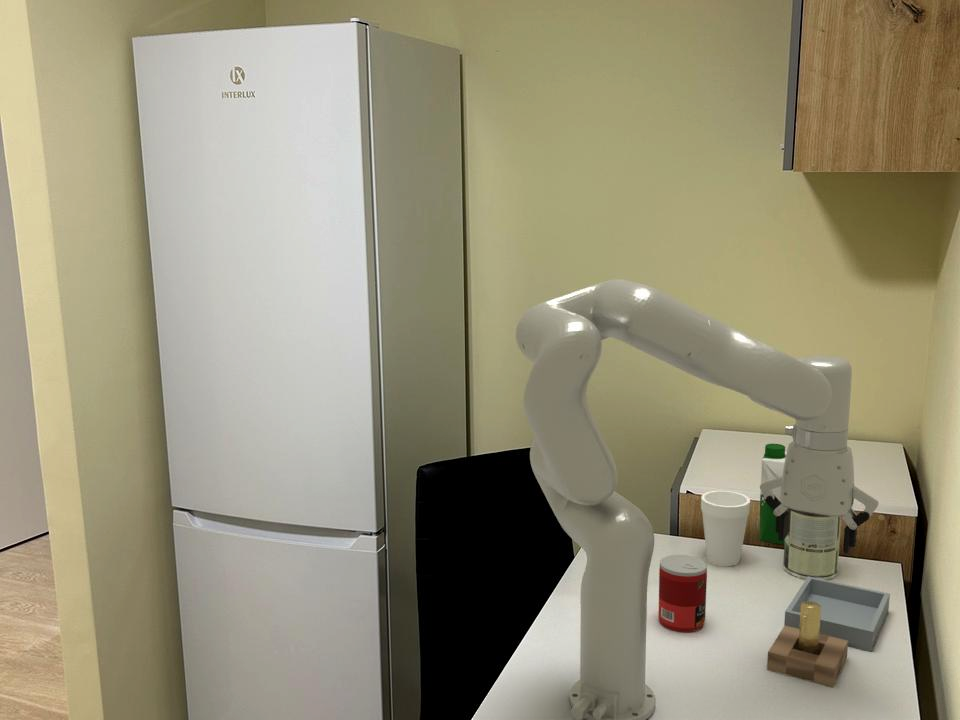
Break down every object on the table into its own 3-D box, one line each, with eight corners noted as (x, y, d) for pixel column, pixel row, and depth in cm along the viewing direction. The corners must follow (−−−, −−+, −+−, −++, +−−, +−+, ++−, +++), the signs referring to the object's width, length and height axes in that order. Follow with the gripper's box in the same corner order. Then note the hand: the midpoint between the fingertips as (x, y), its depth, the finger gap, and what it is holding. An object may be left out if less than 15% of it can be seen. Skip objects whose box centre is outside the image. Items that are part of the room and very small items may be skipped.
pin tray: (871, 651, 152) (873, 631, 151) (784, 630, 159) (785, 611, 158) (888, 611, 165) (889, 593, 164) (806, 593, 172) (807, 576, 172)
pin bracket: (833, 687, 142) (834, 669, 141) (767, 669, 147) (767, 651, 146) (847, 657, 150) (848, 640, 149) (783, 641, 155) (784, 625, 155)
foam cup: (691, 552, 191) (693, 492, 189) (734, 548, 193) (736, 488, 190) (711, 571, 182) (713, 508, 180) (755, 567, 184) (758, 505, 181)
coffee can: (772, 562, 186) (775, 495, 183) (817, 556, 189) (821, 489, 186) (802, 584, 176) (806, 513, 173) (849, 577, 179) (854, 507, 176)
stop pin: (814, 670, 147) (818, 611, 144) (795, 665, 148) (798, 607, 146) (819, 661, 149) (823, 603, 147) (800, 656, 151) (803, 599, 149)
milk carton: (763, 527, 204) (768, 439, 200) (807, 534, 200) (812, 444, 195) (754, 541, 196) (758, 450, 192) (799, 549, 192) (804, 456, 188)
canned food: (705, 634, 158) (708, 574, 156) (657, 630, 160) (659, 571, 157) (704, 613, 165) (706, 555, 163) (658, 610, 167) (659, 552, 165)
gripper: (756, 436, 142) (751, 541, 146) (877, 452, 133) (869, 564, 137) (769, 424, 149) (765, 525, 152) (886, 439, 140) (878, 546, 143)
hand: (814, 544), depth 145 cm, fingers open, 9 cm apart
